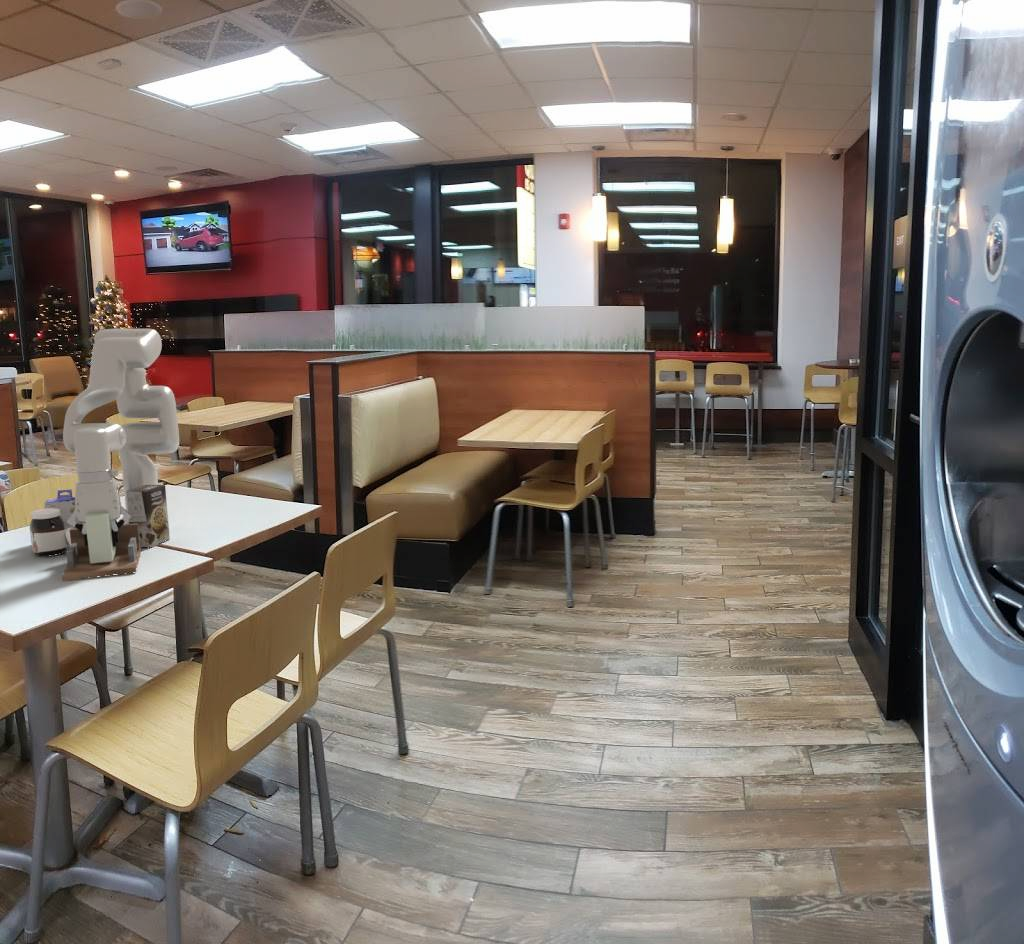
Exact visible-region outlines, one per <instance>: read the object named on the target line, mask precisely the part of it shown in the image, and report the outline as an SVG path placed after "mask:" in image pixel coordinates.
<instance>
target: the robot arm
mask: <svg viewBox="0 0 1024 944" xmlns="http://www.w3.org/2000/svg"><path fill="white" fill-rule="evenodd" d="M162 342H163V341H162V337H161V335H160V334H159V332H157V330H156V329H153V328H107V329H101V330H98V331H97V332H96V333H95V335H94V344H93V347H92V351H91V352H92V354H91V361H90V362H91V363H90V370H89V378H88V386H87V387H86V388H85V389H84V390H83V391H82V392H80V393H79V394H78V396H76V397H75V399H74V400H73V401H72V402H71V403H70V405H69V406H68V408H67V410H66V412H65V416H64V423H63V430H62V431H63V432H62V440H63V444H64V447H65V448H66V450H67V451H69V452H71V453H73V454H74V453H75V461H76V471H77V478H78V479H77V480H78V482H76V483H75V489H74V490H75V492H74V497H75V511H74V512H73V513H72V515H71V516H70V517H69V519H68V520H67V523H68V524H70V525H72V526H74V527H75V528H77V529H78V530H79V531H81V532H82V533H83V534H84V540H85V545H88V539H87V530H86V521H85V516H86V514H96V513H108V512H109V518H110V524H111V527H112V532H111V534H112V544H113V547H116V544H117V542H119V535H118V529H119V528H120V527H121V526H122V525H123V524H129V519H130V518H131V514H130V513H129V512H128V505H127V494H126V491H127V490H131V489H134V488H137V487H141V486H144V485H159V483H158V482H159V481H158V470H157V466H156V464H155V463H154V461H153V460H152V459H151V458H150V457H149V456H148V455H156V454H160V455H161V454H172V453H175V452H177V450H178V449H179V446H180V434H179V433H180V431H179V430H180V429H179V423H178V422H179V421H178V411H177V403H176V398H175V393H173V390H172V389H171V388H170V387H168V386H166V385H148V384H147V380H146V379H147V377H146V370H145V369H146V368H149V367H150V366H151V365H153V363H154V362H155V361H156V360H157V359H158V357H160V354H161V351H162V347H163V344H162ZM115 400H116V406H117V410H118V413H119V415H120V416H121V417H123V418H125V419H158V420H159V421H152V422H151V421H150V422H149V421H139V422H127V423H124V424H121V425H120V424H118V423H114V422H112V423H111V422H103V423H102V422H101V423H100V422H95V423H94V422H92V423H88V422H87V423H82V421H83V419H84V418H85V416H87V415H88V414H89V413H90V412H92V411H93V410H95V409H97V408H100V407H102V406H104V405H107V404H109V403H111V402H113V401H115ZM117 452H118V455H119V460H120V467H121V475H122V486H123V494H124V504H125V505H124V506H125V508H124V506H122V503H121V502H122V501H121V497H120V492H119V491H120V490H119V487H118V484H117V483H118V482H117V480H116V479H113V478H115V477H118V476H119V472H118V471H119V470H113V469H112V466H111V457H110V453H117ZM121 515H122V516H123V517H121ZM75 518H76V519H77V521H78V522H77V521H76V520H75ZM117 520H118V521H117ZM79 522H82V523H84V524H83V525H82V524H81V523H79ZM88 549H89V548H88Z"/></svg>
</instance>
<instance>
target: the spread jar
mask: <svg viewBox="0 0 1024 944" xmlns="http://www.w3.org/2000/svg"><path fill="white" fill-rule="evenodd" d="M30 518H31V520H30V522H29V534H30V540H31V541H30V542H31V548H32V551H33V553H34V555H35V556H36V555H38V556H37V557H41V556H45V557H50V556H49V555H54V556H56V555H55V554H58V555H60V554H59V553H61V554H63V553H65V552H67V550H68V549H67V548H68V544H69V547H70V546H71V538H70V529H74V528H72V527H70V528H68V529H66V530H65V525H64V522H63V520H62V518H61V517H60V509H57V508H47V509H45V508H42V509H41V508H40V509H36V510H33V511H31V512H30ZM66 537H67V539H66ZM67 540H68V542H67ZM62 552H63V553H62Z"/></svg>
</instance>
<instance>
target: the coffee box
mask: <svg viewBox="0 0 1024 944" xmlns="http://www.w3.org/2000/svg"><path fill="white" fill-rule="evenodd" d="M126 494H127V505H128V512H129V513H130V514H131V518H130V519H129V524H134V523H138V530H139V540H140V548H142V547H150V548H149V549H152V548H154V547H156V546H158V545H160V544H159V543H161V542H163V541H165V540H168V539H170V540H171V537H170V526H169V525H170V524H169V515H168V503H167V502H168V501H167V491H166V485H165V484H158V485H144V486H141V487H137V488H134V489H131V490H127V491H126ZM168 541H169V540H168ZM165 542H166V541H165ZM163 543H164V542H163ZM161 544H162V543H161ZM151 547H152V548H151Z"/></svg>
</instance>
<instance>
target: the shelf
mask: <svg viewBox="0 0 1024 944" xmlns="http://www.w3.org/2000/svg"><path fill="white" fill-rule="evenodd" d="M118 535H119V542H117V544H116V553H115V556H114V558H113V561H110V562H100V563H90V557H89V549H88V545H85V540H84V534H83V533H82V532H81V531H79V530H78V529H77V528H75V529H70V538H71V546H70V545H69V547H68V549H67V550H66V560H67V562H66V563H67V565H66V568H65V569H64V571H63V573H62V575H61V576H62V581H63V582H65V581H64V580H68V581H74V580H73V579H77V580H82V579H81V578H87V579H89V578H88V577H96V578H98V577H97V576H105V575H113V574H125V573H133V572H136V573H137V570H136V568H137V569H138V566H139V562H138V561H140V559H139V558H141V555H140V554H142V553H141V552H142V551H141V547H140V540H139V530H138V523H134V524H123V525H122V526H121V527H120V528H119V529H118ZM137 565H138V566H137ZM125 575H126V574H125Z"/></svg>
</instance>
